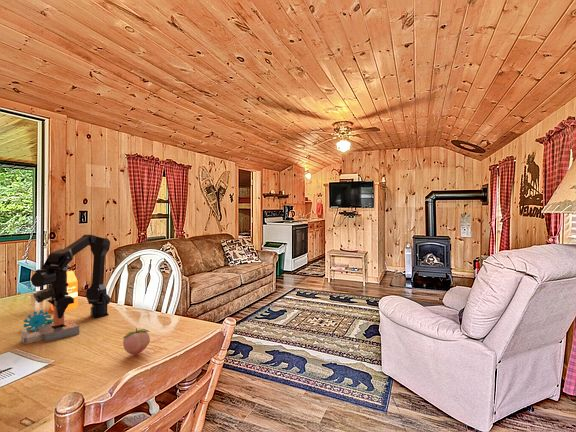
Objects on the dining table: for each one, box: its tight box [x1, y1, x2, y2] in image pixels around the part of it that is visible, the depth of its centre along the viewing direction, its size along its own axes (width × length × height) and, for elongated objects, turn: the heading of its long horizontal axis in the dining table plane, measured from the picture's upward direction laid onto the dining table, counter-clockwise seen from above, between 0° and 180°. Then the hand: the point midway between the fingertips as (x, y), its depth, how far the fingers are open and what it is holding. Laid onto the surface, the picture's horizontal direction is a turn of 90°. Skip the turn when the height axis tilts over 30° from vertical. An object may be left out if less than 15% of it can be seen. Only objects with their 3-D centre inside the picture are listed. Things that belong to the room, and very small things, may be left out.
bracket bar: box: [21, 328, 43, 346], centre depth 128 cm, size 6×4×5 cm, turn 141°
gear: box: [23, 310, 53, 333], centre depth 142 cm, size 11×6×10 cm
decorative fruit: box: [122, 328, 151, 356], centre depth 119 cm, size 9×8×10 cm
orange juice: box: [51, 270, 79, 312], centre depth 169 cm, size 8×9×20 cm
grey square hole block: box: [36, 319, 80, 343], centre depth 136 cm, size 12×12×4 cm
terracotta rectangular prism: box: [52, 306, 65, 326], centre depth 135 cm, size 3×3×9 cm
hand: (58, 317), depth 135 cm, fingers closed on terracotta rectangular prism, 3 cm apart
